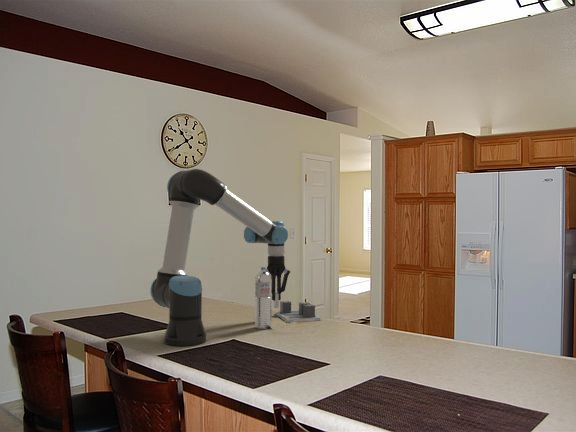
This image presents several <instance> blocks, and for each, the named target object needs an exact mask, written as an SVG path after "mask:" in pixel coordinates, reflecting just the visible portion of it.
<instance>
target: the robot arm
mask: <svg viewBox="0 0 576 432" xmlns="http://www.w3.org/2000/svg"><path fill="white" fill-rule="evenodd" d="M166 189H167V193H168V195H169V199H168V200H169V201H168V203H169V204H170V206H171V212H170V217H169V219H170V220H169V226H168V232H167V238H166V243H165V249H164V256H163V263H162V267H161V268H159V269H158V270H157V272H156V273H157V275H156V278H155V279H154V280H153V281H152V283H151V286H150V291H149V292H150V296H151V298H152V300H153V302H155V303H156V304H157V305H159V306H160V307H162V308H167V309H169V310H168V311H169V312H168V316H169V317H168V318H169V319H168V324H167V327H166V330H165V334H164V337H163V338H164V339H163V342H164V344H166V345H167V346H173V347H174V346H176V347H187V346H196V345H197V346H198V345H201V344H203V343H206V341H207V331H206V330H205V326H204V322H203V319H202V318H203V317H202V315H203V314H202V308H203V307H202V305H203V304H202V302H203V300H202V299H203V298H202V295H203V287H202V281H201V279H200V278H199V277H196V276H192V275H191V276H190V275H188V274H189V273H188V272H187V271H186V264H187V263H186V262H187V257H188V251H189V245H190V244H189V243H190V238H191V237H190V236H191V232H192V224H193V219H194V214H195V213H194V211H195V210H196V209H197V208H199V205H200V201H203V202H206V203H208V204H209V205H211V206H216V207H217V208H219V209H221V210H222V211H224V212H226V214H228V215H230V216H231V217H233V218H234V219H235V220H236V221H238V222H239V223H241V224H243V225H244V226H245V229H244V230H243V239H244V241H245V242H246V243H248V244H267V255H268V256H267V266H266V270H265V271H266V272H268V273H269V274H270V276H271V278H272V281H271V296H272V298H271V299H272V300H271V301H272V302H273V308H274V309H280V301H282V300H281V298H282V297H281V296H282V295H281V294H282V293H283V292H284V293H285V291H286V287H287V283H288V277H289V275H290V273H291V270H289V269H287V267H286V266H285V243H286V242H287V240H288V238H289V232H288V231H289V230H288V229H287V228H286V227H285V222H284V221H279V220H273V221H272V220H269V219H268V217H266V216H264V215H263V214H261V213H260V211H257V210H256V209H255V208H254V207H252V206H251V205H249V204H248V203H246V202H245V201H244V200H243V199H241V198H240V197H238V196H237V195H236V194H235V193H233V192H232V191H230V190H229V189H228V188H227V184H226V183H224V182H223V181H221V180H219V179H218V178H217V177H215V175H212V174H211V173H210V172H207V171H206V170H203V169H200V168H192V169H187V170H180V171H178V172H176V173H174V174H172V175H171V176H170V178H169V179H168V182H167V185H166ZM283 273H284V274H283ZM282 275H283V279H282Z"/></svg>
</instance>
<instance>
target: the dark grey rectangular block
mask: <svg viewBox="0 0 576 432" xmlns="http://www.w3.org/2000/svg"><path fill="white" fill-rule="evenodd" d="M315 315H316V305H314V304H311V303H310V305H309V304H307V305H303V318H312V317H315Z"/></svg>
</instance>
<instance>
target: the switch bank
mask: <svg viewBox="0 0 576 432" xmlns="http://www.w3.org/2000/svg"><path fill="white" fill-rule="evenodd" d="M274 315H276V316H277V317H278V318H280V319H281V320H283V321H284V322H286V323H299V322H301V323H302V322H314V321H315V322H316V321H321V317H320V316H319V315H316V314H315V317H312V318H303V315H299V309H298V310H297V309H296V310H291V313H286V314H281V313H280V310H279V311H274Z"/></svg>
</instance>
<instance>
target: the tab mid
mask: <svg viewBox="0 0 576 432" xmlns="http://www.w3.org/2000/svg"><path fill="white" fill-rule="evenodd" d="M307 304H309V305H310V304H311V303H310V302H307V301H303V302H298V310H299V315H303V305H307Z"/></svg>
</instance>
